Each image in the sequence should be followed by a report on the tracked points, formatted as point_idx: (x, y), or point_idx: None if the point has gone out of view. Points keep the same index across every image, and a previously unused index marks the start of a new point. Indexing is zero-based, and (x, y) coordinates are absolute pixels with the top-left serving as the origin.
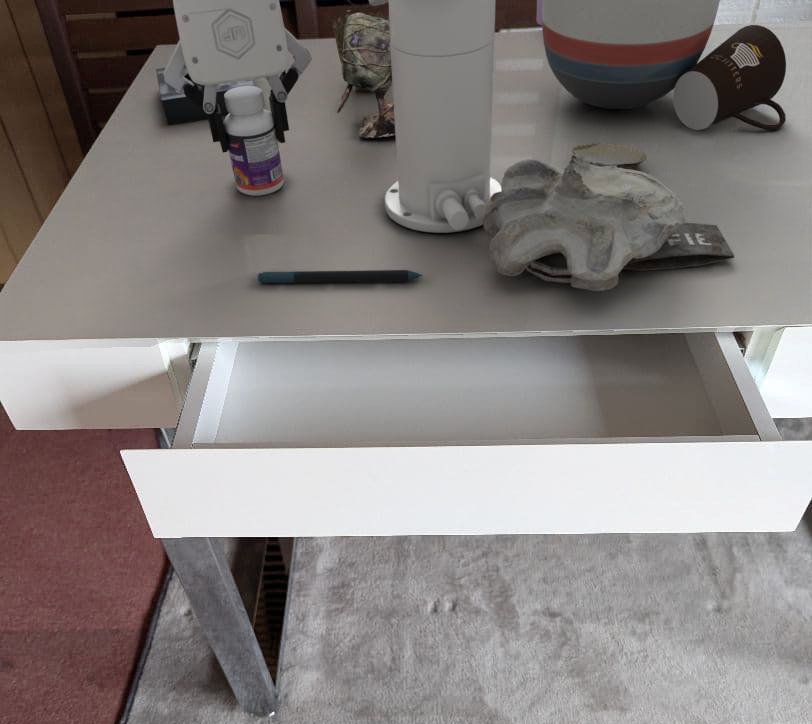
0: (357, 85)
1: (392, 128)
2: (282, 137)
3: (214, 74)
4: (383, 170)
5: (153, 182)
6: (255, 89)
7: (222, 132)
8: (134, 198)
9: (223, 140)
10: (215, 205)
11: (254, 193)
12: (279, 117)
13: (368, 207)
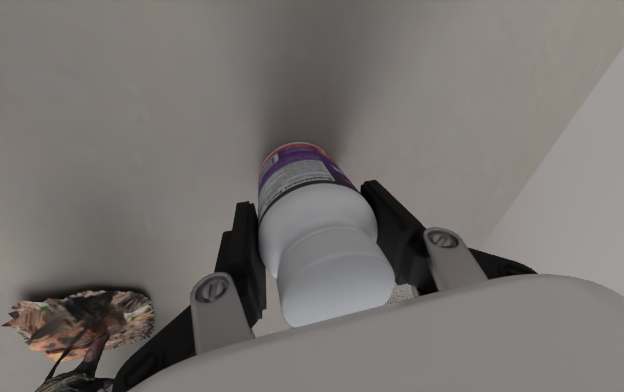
0: (111, 383)
1: (75, 307)
2: (241, 206)
3: (535, 318)
4: (64, 195)
5: (430, 212)
6: (301, 316)
7: (386, 199)
8: (462, 176)
9: (378, 190)
10: (371, 128)
11: (309, 143)
12: (236, 235)
13: (36, 19)
